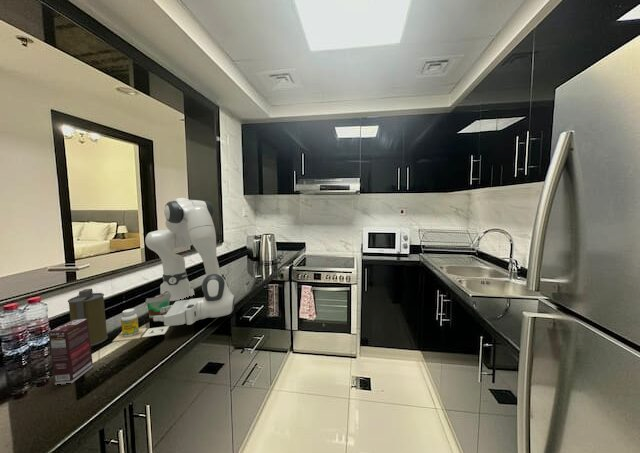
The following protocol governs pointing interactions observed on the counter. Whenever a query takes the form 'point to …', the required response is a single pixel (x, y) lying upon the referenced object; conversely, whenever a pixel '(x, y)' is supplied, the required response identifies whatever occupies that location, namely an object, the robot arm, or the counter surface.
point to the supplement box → (70, 351)
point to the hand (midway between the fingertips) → (157, 314)
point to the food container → (158, 304)
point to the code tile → (156, 331)
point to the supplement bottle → (129, 323)
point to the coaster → (136, 336)
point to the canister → (90, 314)
